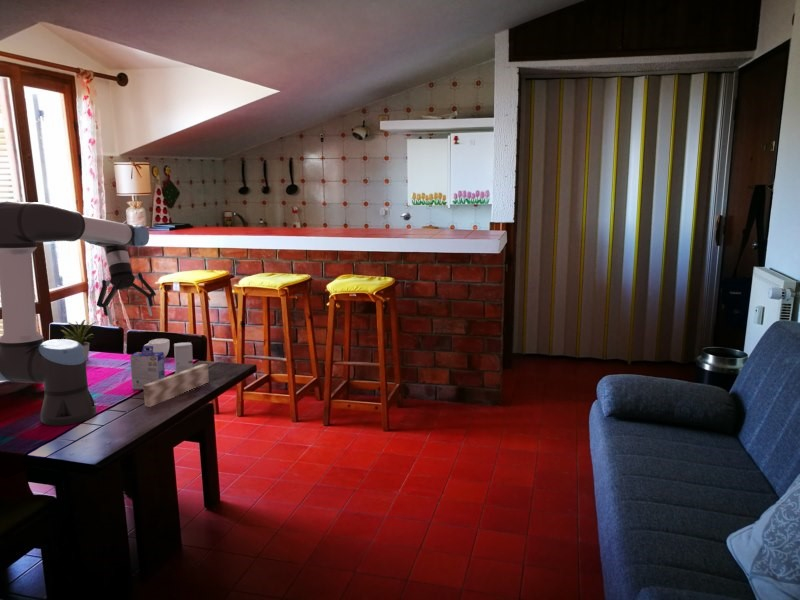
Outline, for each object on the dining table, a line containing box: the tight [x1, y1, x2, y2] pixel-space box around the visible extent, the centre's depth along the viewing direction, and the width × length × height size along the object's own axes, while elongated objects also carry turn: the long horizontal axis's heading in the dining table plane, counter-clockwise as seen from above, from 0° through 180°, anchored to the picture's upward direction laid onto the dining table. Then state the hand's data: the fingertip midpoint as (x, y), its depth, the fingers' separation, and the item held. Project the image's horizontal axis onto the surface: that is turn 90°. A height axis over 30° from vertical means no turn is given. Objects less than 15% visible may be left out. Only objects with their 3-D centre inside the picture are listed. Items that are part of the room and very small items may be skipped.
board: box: [142, 363, 210, 408], centre depth 206 cm, size 26×2×7 cm, turn 152°
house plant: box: [60, 319, 101, 360], centre depth 243 cm, size 14×14×16 cm
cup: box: [143, 338, 170, 359], centre depth 247 cm, size 8×10×7 cm
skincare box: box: [173, 341, 194, 374], centre depth 224 cm, size 6×4×12 cm
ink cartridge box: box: [129, 345, 166, 390], centre depth 211 cm, size 10×6×14 cm, turn 89°
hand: (131, 319), depth 224 cm, fingers open, 13 cm apart
